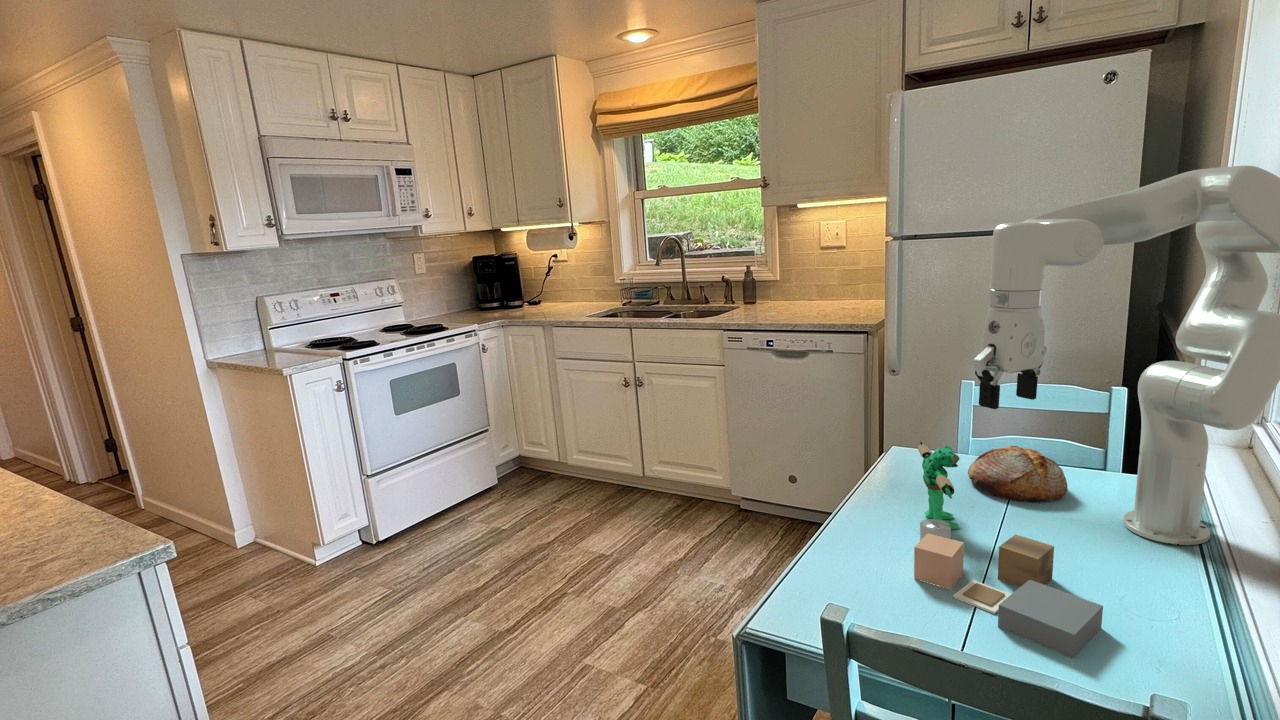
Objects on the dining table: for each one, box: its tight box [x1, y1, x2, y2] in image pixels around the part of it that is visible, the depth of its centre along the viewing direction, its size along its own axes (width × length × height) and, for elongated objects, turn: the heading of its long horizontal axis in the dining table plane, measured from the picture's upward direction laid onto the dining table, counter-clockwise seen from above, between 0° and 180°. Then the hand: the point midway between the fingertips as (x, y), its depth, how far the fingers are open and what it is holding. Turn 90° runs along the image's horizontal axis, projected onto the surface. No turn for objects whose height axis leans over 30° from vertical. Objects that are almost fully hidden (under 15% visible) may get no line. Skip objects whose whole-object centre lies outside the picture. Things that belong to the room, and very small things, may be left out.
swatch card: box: [952, 579, 1012, 615], centre depth 106 cm, size 6×6×1 cm
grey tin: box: [919, 518, 952, 542], centre depth 119 cm, size 5×5×6 cm
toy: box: [917, 441, 961, 530], centre depth 131 cm, size 26×6×15 cm, turn 168°
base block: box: [997, 580, 1104, 659], centre depth 98 cm, size 10×10×4 cm
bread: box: [967, 444, 1068, 503], centre depth 144 cm, size 16×20×10 cm
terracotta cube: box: [913, 533, 965, 590], centre depth 113 cm, size 6×6×6 cm
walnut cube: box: [997, 533, 1055, 588], centre depth 110 cm, size 6×6×6 cm
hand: (1007, 402), depth 111 cm, fingers open, 9 cm apart
